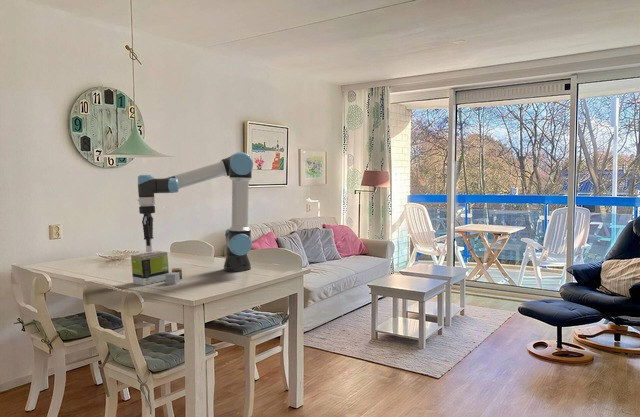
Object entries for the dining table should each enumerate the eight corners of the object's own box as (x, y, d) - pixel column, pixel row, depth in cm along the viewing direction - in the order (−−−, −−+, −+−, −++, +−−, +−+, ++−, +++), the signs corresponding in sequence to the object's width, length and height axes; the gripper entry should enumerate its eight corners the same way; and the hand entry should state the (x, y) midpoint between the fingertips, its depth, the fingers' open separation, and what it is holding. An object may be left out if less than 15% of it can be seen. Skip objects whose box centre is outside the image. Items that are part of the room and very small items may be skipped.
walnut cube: (182, 277, 258) (181, 267, 257) (182, 279, 253) (181, 269, 252) (172, 278, 256) (171, 268, 256) (172, 279, 251) (171, 270, 251)
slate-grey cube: (179, 282, 246) (179, 272, 245) (175, 284, 241) (174, 274, 240) (170, 282, 246) (170, 272, 246) (165, 284, 242) (165, 274, 241)
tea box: (158, 277, 257) (157, 250, 256) (169, 280, 251) (168, 251, 250) (132, 283, 246) (130, 254, 245) (143, 286, 239) (141, 256, 238)
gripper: (142, 204, 251) (145, 250, 253) (135, 206, 239) (138, 254, 240) (157, 204, 252) (159, 249, 254) (151, 206, 239) (153, 253, 241)
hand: (149, 251), depth 247 cm, fingers closed
